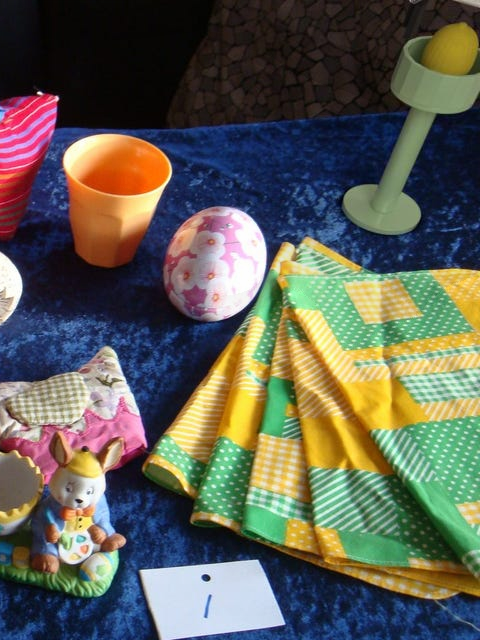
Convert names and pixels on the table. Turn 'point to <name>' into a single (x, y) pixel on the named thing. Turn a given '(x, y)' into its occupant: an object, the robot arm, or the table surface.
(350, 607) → the table surface
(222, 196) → the table surface
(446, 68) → the lemon
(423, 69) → the green goblet
